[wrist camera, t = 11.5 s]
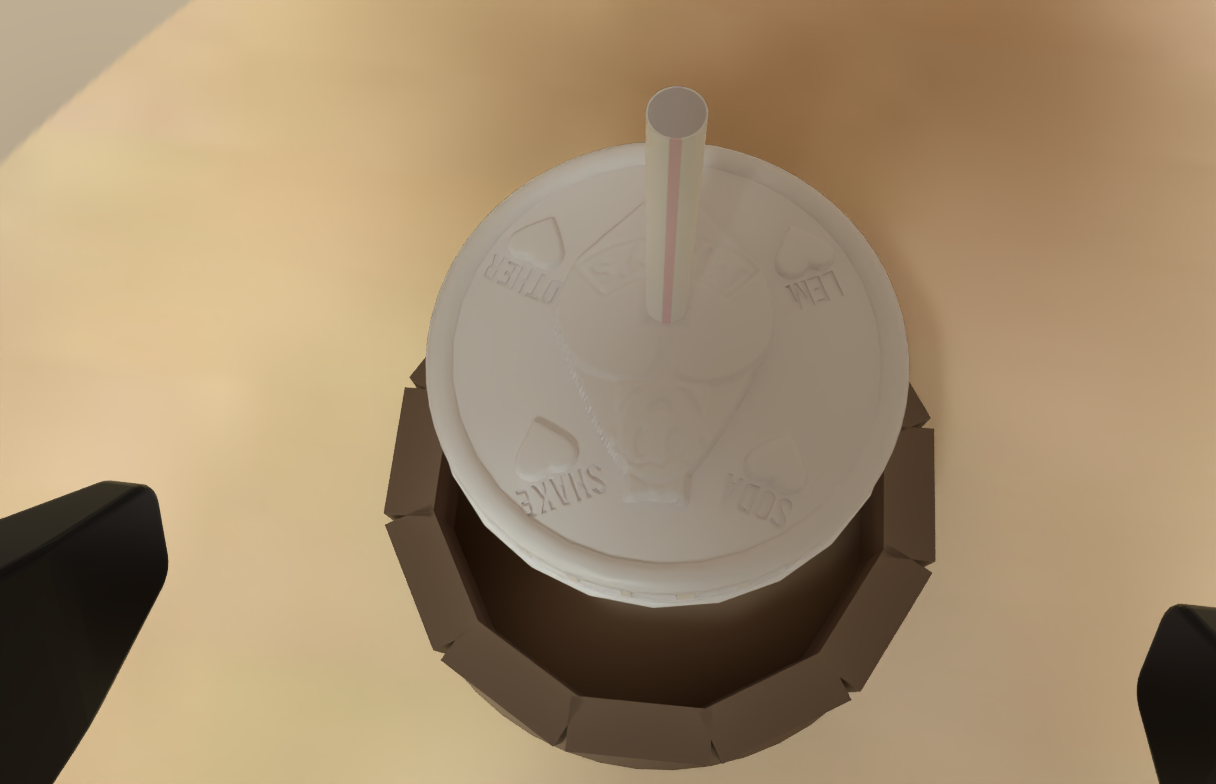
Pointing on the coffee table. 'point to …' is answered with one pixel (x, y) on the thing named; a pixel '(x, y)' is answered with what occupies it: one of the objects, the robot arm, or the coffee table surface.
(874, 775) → the coffee table surface
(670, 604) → the smoothie
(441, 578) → the bowl
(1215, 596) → the coffee table surface
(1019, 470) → the coffee table surface
